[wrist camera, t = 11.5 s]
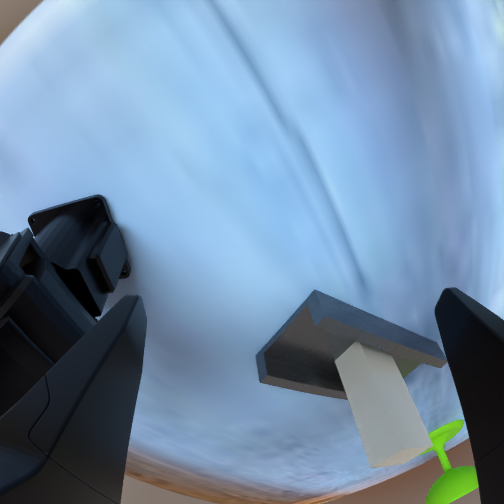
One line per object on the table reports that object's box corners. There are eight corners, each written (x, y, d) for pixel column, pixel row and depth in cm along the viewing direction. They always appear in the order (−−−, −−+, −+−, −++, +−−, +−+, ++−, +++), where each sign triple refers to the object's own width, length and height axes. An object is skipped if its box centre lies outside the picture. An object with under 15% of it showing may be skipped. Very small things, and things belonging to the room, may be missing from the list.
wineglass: (471, 419, 56) (497, 475, 41) (424, 452, 63) (444, 505, 48) (447, 419, 51) (476, 487, 36) (392, 455, 57) (413, 519, 42)
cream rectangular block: (334, 361, 30) (370, 468, 20) (358, 338, 29) (403, 448, 19) (366, 369, 32) (403, 464, 22) (388, 349, 30) (433, 445, 20)
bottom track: (255, 355, 29) (259, 382, 26) (314, 289, 25) (325, 316, 23) (386, 387, 36) (394, 406, 34) (436, 342, 32) (448, 361, 30)
